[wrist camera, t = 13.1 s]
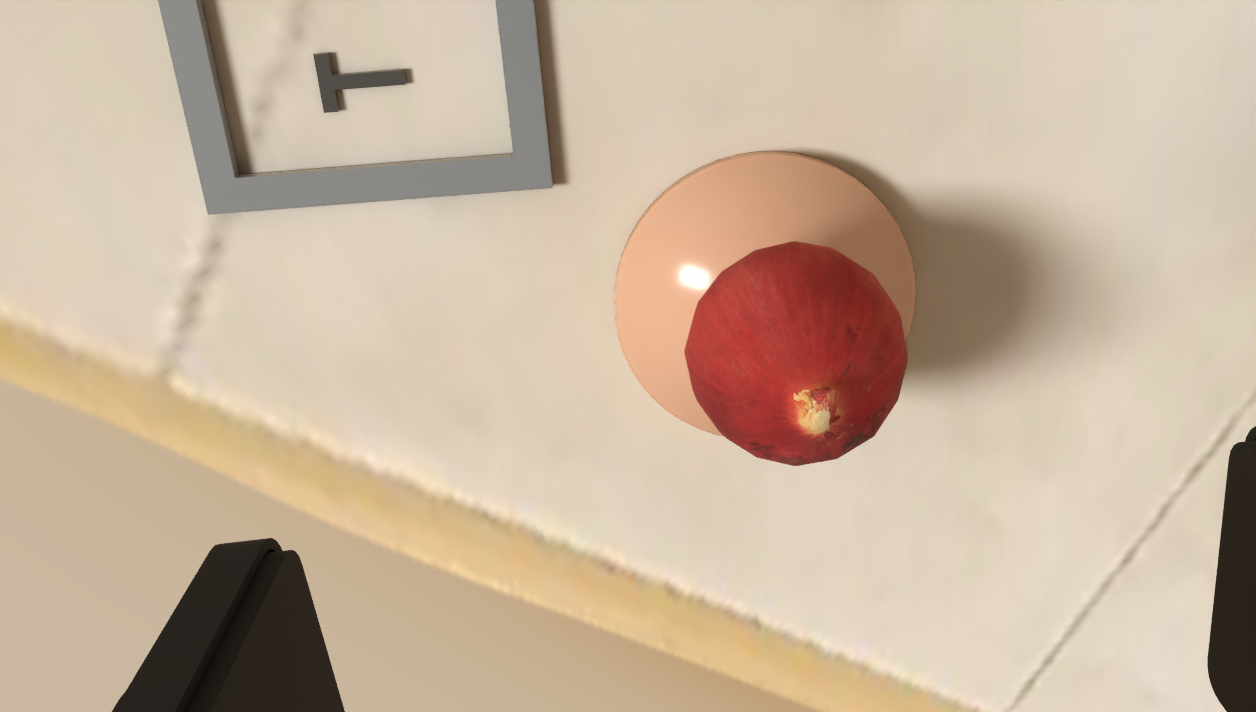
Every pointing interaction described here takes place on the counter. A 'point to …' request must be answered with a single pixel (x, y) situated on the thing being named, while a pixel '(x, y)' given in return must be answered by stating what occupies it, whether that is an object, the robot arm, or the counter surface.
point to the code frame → (348, 182)
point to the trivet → (740, 253)
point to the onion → (796, 353)
